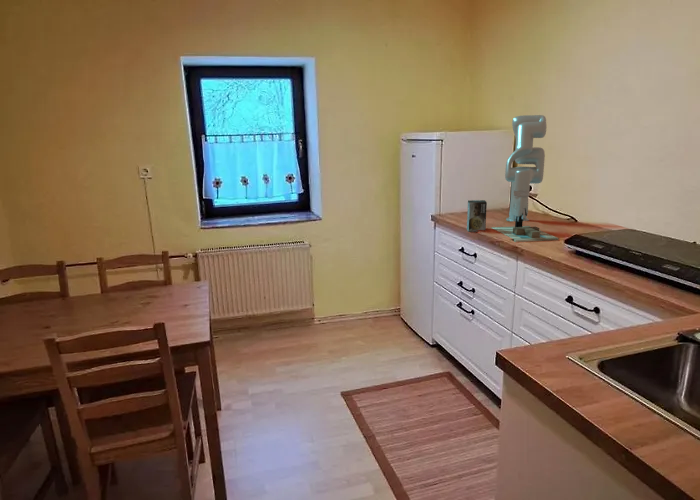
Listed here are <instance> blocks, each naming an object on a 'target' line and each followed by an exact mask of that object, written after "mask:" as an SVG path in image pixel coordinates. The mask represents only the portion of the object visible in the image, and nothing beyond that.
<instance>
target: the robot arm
mask: <svg viewBox="0 0 700 500" xmlns="http://www.w3.org/2000/svg"><path fill="white" fill-rule="evenodd" d="M511 127H512V130H513V131H512V132H513V134H514V137H515V150H514V151H513V152H512V153H511V154H510V155H509V156H508V158H507V160H506V163H505V171H504V172H505V173H504V180H506V181H507V182H509V183H510V184H511V186H510V187H511V188H510V189H511V190H510V204H509V212H508V216H507V217H506V221H507V222H515V223H514V226H515V227H522V226H523V223H524V222H528V221H529V222H530V219H529V218H528V213H529V197H530V190H531V189H530V187H531V184H534V185H535V184H538V185H539V184H541V183H542V182H543V179H544V173H545V171H544V170H545V169H544V168H545V161H546V159H545V157H546V154H545V150H544V149H543V148H542V147H537V146H535V147H534V139H542V138H544V137H546V133H547V118H546V116H545V115H543V114H539V115H538V114H534V115H533V114H530V115H528V114H527V115H517V116H514V117H513V119H512V122H511ZM513 162H514V163H515V164H518V165H534V166H516V167H512V164H513Z"/></svg>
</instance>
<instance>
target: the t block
mask: <svg viewBox="0 0 700 500" xmlns="http://www.w3.org/2000/svg"><path fill="white" fill-rule="evenodd" d="M512 227H513V234H516V235H526V236H528V237H531V238H540V232H539V230H540V228H539V227H538V226H530V227H514V226H512Z"/></svg>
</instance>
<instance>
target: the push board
mask: <svg viewBox="0 0 700 500" xmlns="http://www.w3.org/2000/svg"><path fill="white" fill-rule="evenodd" d="M513 227H515V225H514V226H497V227H496V226H492V227H490V229H493V230H495V231H497V232H499V233H501V234H503V235H505V236H506V237H509V238H510V240H511V241H513V242H514V243H524V242H526V243H527V242H546V241H547V242H549V241H550V242H551V241H559V239H560V238H559V237H557V236H554V235H552V234H549V233H547V232H545V231H542V230H540V229H539V232H540V238H531V237H528V236H526V235H516V234H513ZM522 227H531V225H522Z"/></svg>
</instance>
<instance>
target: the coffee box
mask: <svg viewBox="0 0 700 500" xmlns="http://www.w3.org/2000/svg"><path fill="white" fill-rule="evenodd" d="M467 200H468V199H467ZM487 204H488V202H487V200H483V199H482V200H480V199H475V200H473V199H471V200H468V201H467V213H466V214H467V215H466V217H467V219H466V230H467V232H468V233H469V232H471V233H472V232H473V233H476V232H479V231H487V230H486V229H487V227H486V226H487Z"/></svg>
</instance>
